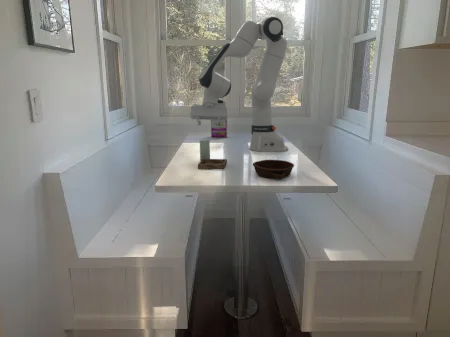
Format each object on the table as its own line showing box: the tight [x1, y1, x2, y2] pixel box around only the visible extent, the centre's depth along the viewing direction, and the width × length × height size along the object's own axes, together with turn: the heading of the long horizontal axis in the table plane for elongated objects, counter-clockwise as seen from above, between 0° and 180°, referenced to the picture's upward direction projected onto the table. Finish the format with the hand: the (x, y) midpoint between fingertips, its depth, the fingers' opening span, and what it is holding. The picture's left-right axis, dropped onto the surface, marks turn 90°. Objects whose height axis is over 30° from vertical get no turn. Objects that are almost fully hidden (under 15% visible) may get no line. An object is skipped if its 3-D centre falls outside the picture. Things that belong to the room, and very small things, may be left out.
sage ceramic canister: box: [199, 139, 211, 161], centre depth 181 cm, size 5×5×10 cm
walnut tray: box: [197, 158, 228, 170], centre depth 168 cm, size 12×12×2 cm
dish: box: [252, 159, 295, 180], centre depth 152 cm, size 17×22×5 cm
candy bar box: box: [210, 119, 228, 138], centre depth 254 cm, size 11×5×16 cm, turn 80°
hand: (207, 124), depth 190 cm, fingers open, 8 cm apart
